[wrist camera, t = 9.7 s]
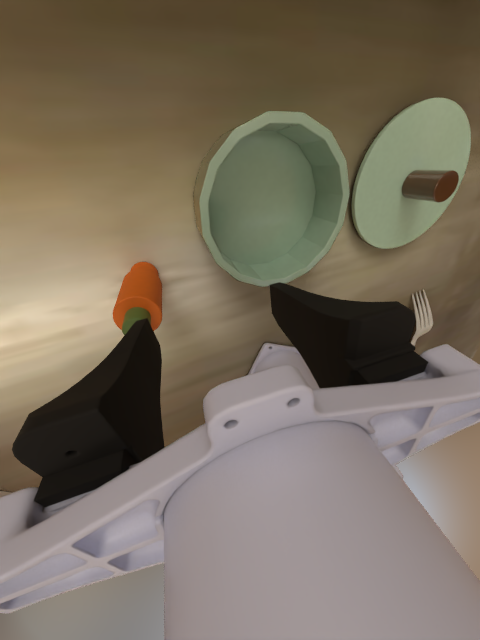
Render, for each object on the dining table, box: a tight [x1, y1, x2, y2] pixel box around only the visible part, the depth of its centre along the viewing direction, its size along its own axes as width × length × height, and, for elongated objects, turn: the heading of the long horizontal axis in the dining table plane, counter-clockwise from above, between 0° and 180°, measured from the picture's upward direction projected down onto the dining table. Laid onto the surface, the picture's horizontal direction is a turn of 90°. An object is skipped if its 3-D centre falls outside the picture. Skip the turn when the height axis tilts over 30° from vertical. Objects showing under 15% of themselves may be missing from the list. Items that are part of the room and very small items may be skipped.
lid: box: [352, 98, 471, 249], centre depth 22 cm, size 12×12×4 cm
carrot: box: [113, 262, 162, 335], centre depth 18 cm, size 3×3×9 cm
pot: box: [193, 111, 350, 287], centre depth 19 cm, size 12×12×4 cm
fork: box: [411, 289, 433, 346], centre depth 39 cm, size 3×21×3 cm, turn 18°
